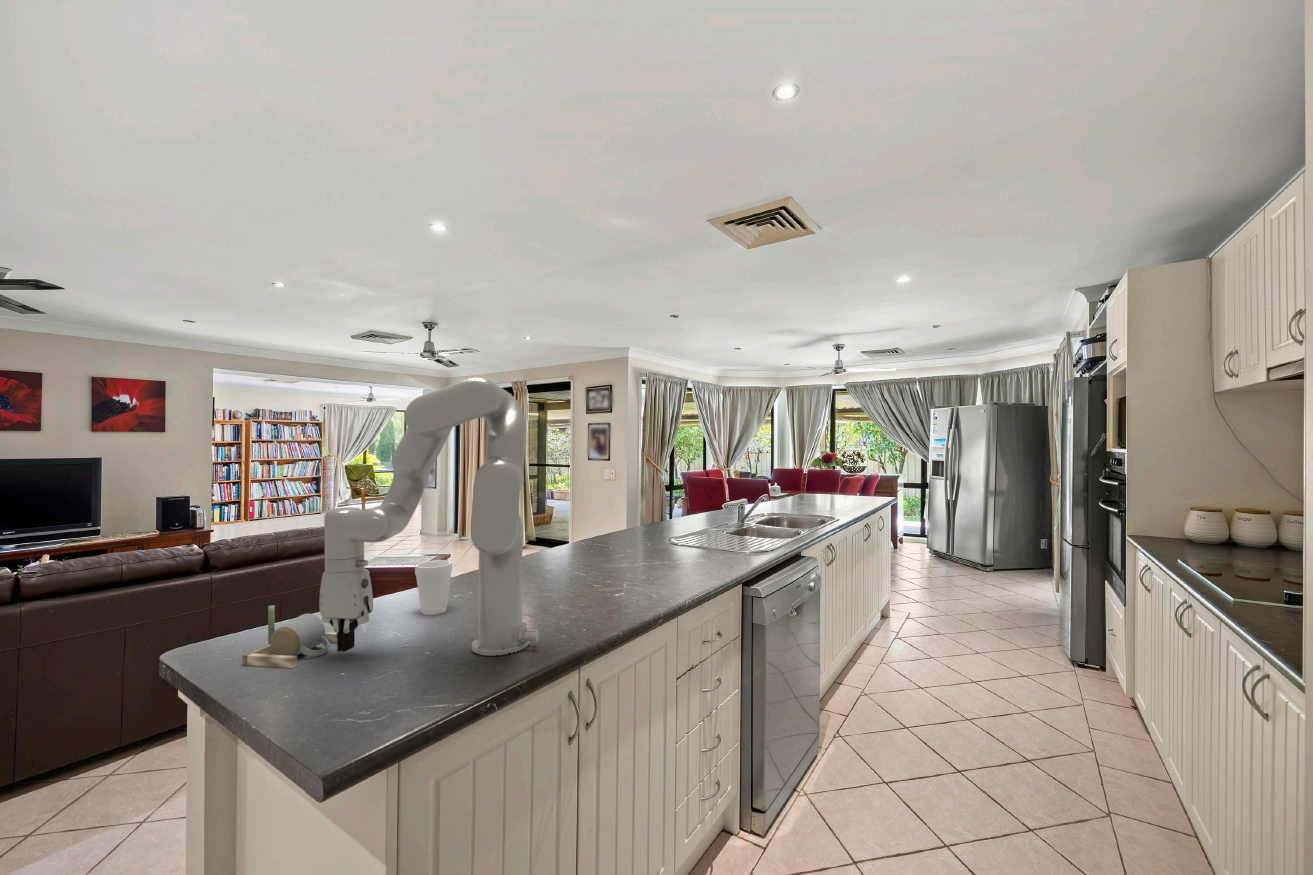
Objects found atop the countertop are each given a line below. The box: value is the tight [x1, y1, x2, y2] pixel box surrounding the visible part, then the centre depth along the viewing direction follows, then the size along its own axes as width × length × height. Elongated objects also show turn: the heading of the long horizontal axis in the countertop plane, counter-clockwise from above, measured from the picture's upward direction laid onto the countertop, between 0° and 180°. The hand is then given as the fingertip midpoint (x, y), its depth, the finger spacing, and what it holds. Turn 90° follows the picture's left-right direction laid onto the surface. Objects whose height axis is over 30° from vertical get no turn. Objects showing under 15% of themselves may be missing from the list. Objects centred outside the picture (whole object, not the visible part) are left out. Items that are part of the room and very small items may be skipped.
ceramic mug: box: [270, 613, 330, 658], centre depth 121 cm, size 11×8×8 cm
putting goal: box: [241, 604, 337, 669], centre depth 122 cm, size 13×15×10 cm
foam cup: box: [414, 559, 453, 616], centre depth 151 cm, size 10×9×13 cm
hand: (346, 649), depth 120 cm, fingers closed
